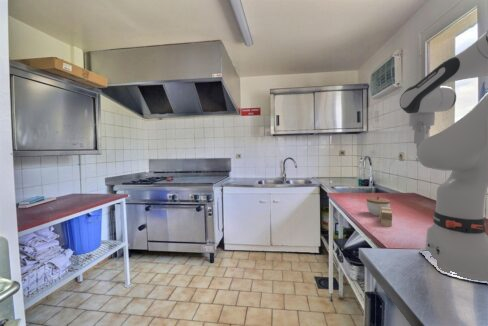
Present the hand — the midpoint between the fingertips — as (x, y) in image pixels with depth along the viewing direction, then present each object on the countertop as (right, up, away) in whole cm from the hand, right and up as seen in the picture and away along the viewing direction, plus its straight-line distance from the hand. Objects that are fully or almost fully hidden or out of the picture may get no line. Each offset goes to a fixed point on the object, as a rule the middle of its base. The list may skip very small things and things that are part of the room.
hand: (419, 153), depth 106 cm
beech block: (-11, -32, +8) cm, 34 cm away
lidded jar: (-7, -31, +20) cm, 38 cm away
